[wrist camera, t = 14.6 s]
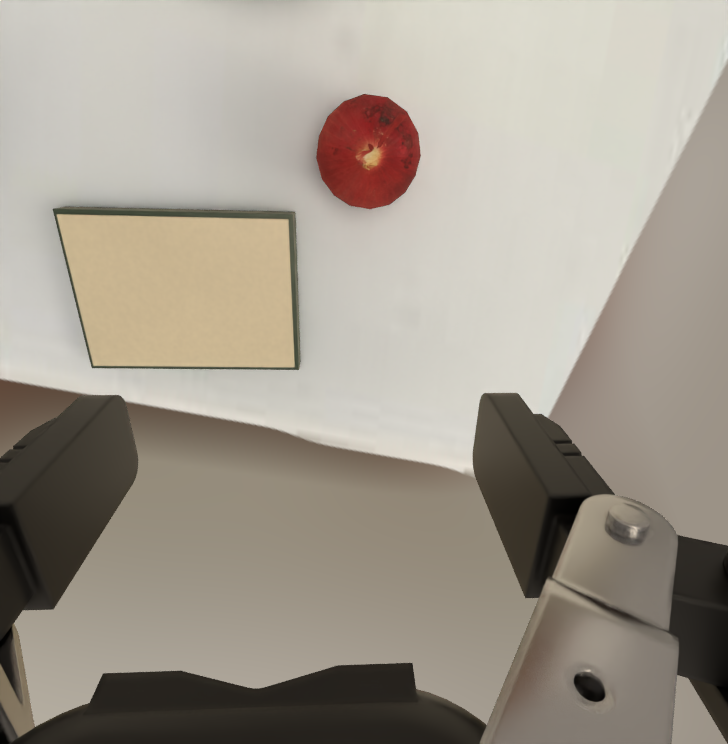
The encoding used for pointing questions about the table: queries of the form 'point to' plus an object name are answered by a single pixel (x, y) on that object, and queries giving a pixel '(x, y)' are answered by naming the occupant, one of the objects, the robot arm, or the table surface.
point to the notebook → (184, 286)
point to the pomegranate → (368, 151)
